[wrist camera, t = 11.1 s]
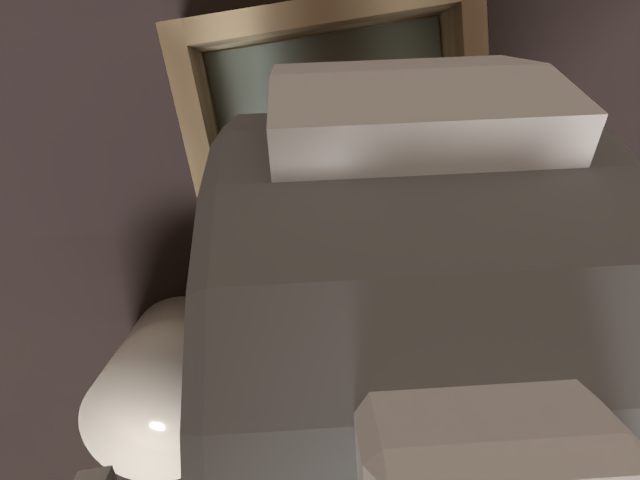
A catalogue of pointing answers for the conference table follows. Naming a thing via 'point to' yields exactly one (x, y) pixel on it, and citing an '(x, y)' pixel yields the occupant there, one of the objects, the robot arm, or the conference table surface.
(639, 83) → the conference table surface
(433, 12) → the tray
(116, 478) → the robot arm
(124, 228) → the conference table surface
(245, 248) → the alarm clock
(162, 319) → the white rounded cylinder
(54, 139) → the conference table surface
